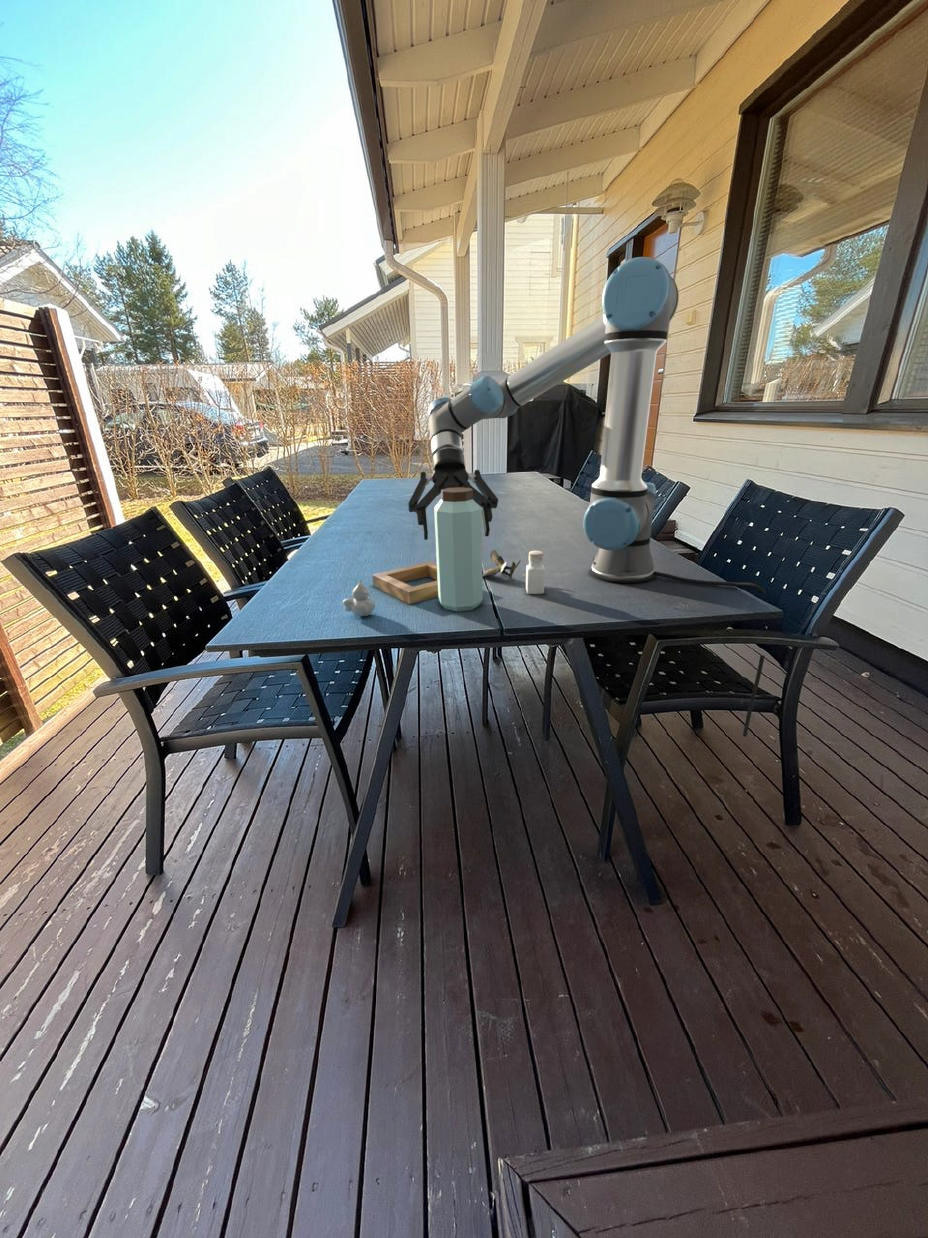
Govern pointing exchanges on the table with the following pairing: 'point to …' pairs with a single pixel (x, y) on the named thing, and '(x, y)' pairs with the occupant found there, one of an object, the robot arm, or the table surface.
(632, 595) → the table surface
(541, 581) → the pepper shaker
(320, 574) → the table surface
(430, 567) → the frame
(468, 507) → the water bottle
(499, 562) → the eagle figurine
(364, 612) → the white rounded figurine
